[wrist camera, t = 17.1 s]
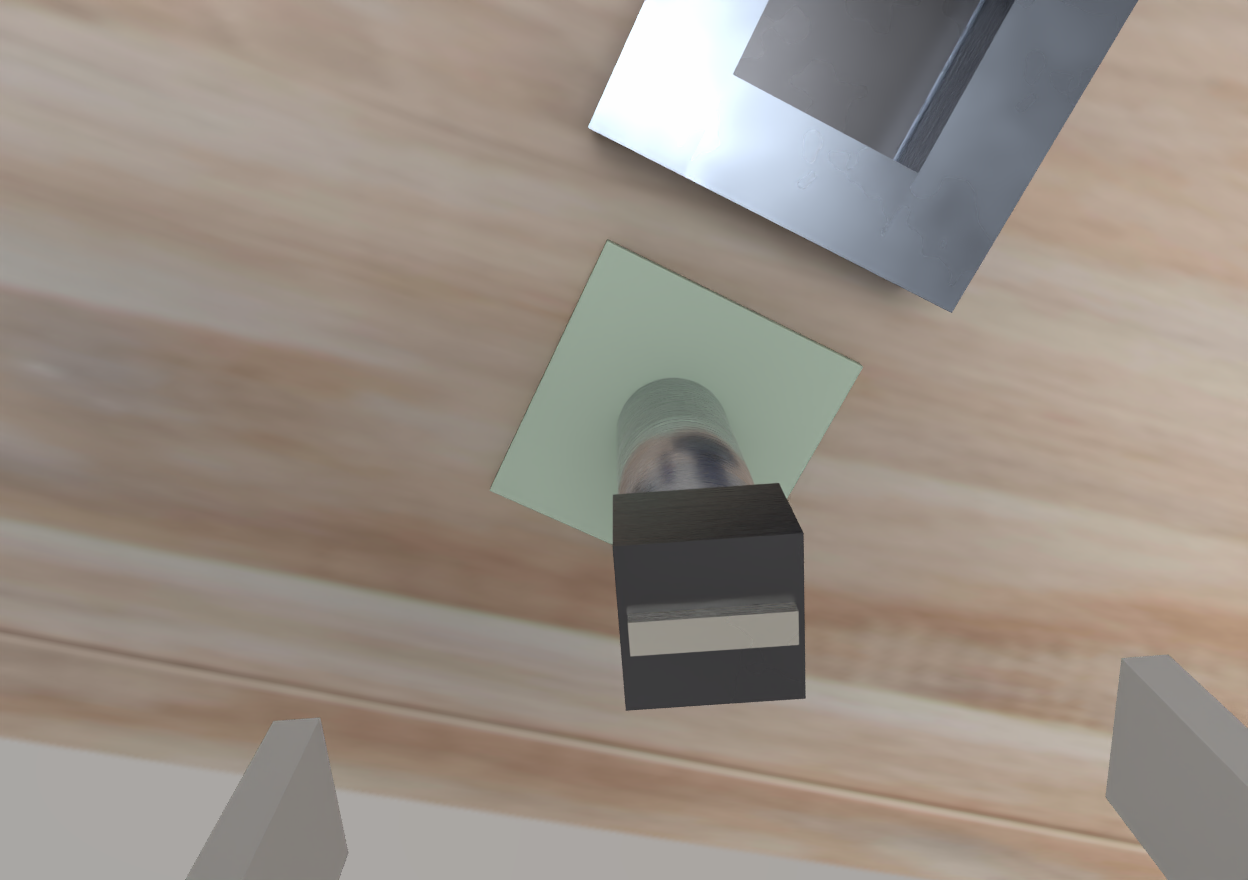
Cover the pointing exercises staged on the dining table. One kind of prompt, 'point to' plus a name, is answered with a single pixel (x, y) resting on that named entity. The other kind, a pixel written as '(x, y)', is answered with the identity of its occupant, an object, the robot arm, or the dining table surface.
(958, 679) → the dining table surface
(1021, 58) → the block
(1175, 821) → the robot arm
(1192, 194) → the dining table surface
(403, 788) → the dining table surface
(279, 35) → the dining table surface
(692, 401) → the grey piece
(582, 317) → the pad
